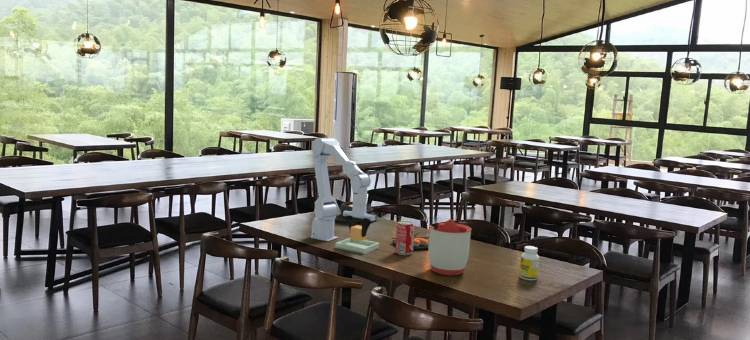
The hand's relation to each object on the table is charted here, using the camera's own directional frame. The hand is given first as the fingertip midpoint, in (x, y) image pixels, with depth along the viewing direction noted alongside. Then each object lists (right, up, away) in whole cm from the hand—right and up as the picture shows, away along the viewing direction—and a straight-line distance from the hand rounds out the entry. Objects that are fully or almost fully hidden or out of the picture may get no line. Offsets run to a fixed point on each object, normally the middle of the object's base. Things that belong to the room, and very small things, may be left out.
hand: (358, 235), depth 249 cm
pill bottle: (+63, -13, -28) cm, 71 cm away
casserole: (-3, +1, +52) cm, 52 cm away
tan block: (0, -2, 0) cm, 2 cm away
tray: (0, -5, +1) cm, 6 cm away
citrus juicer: (+33, -11, -24) cm, 43 cm away
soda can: (+19, -7, -4) cm, 21 cm away
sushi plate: (+27, -5, +18) cm, 33 cm away
